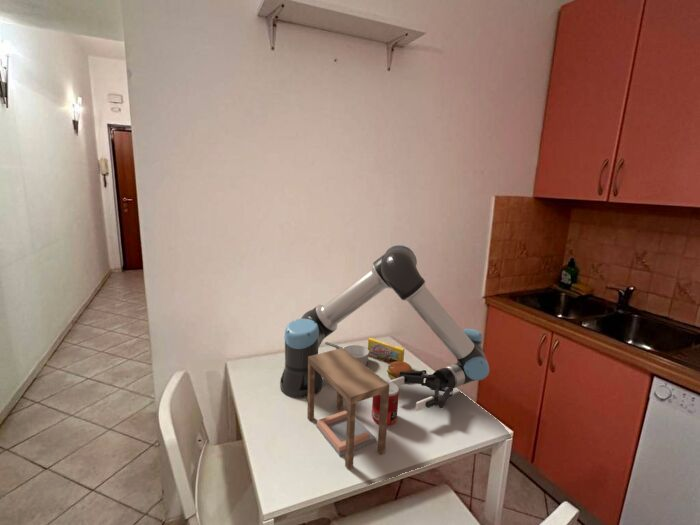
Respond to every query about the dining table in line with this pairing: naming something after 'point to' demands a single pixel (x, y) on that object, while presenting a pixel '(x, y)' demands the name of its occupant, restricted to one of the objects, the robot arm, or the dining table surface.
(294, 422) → the dining table surface
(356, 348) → the saucepan
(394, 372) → the burger
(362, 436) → the seat
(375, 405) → the canned food
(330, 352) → the bench
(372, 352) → the candy box
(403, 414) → the dining table surface
